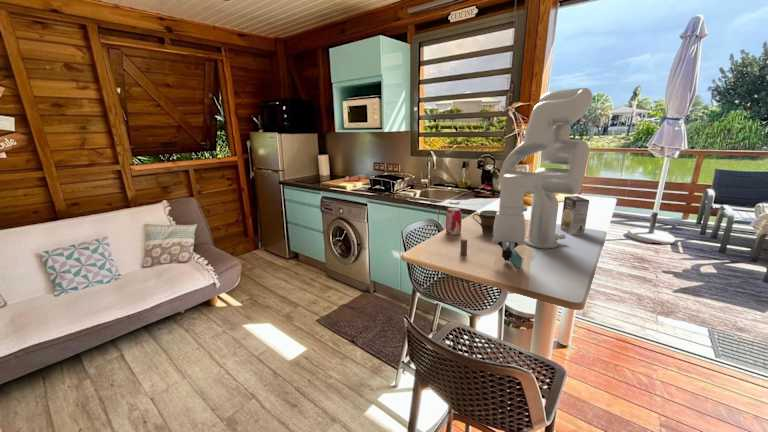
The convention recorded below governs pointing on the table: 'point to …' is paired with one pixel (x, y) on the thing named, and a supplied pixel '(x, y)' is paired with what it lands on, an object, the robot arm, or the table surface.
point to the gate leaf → (515, 257)
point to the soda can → (453, 221)
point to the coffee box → (574, 215)
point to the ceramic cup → (487, 221)
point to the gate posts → (463, 247)
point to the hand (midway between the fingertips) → (506, 259)
